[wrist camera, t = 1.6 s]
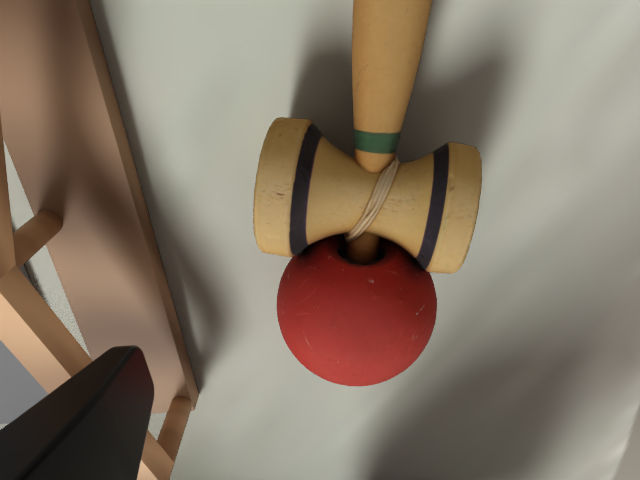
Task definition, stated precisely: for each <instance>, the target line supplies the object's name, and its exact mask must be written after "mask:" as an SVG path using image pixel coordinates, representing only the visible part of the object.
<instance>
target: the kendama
mask: <svg viewBox="0 0 640 480" xmlns="http://www.w3.org/2000/svg"><path fill="white" fill-rule="evenodd" d="M431 5H432V0H354V4H353V29H352V90H353V121H354V136H355V138H354V140H355V146H354V157H352V156H350V155H348V154H346V153H344V152H343V151H341V150H339V149H338V148H337V147H335V146H334V145H333V144H331V143H330V142H329V141H328V140H327V139H326V138H325V137H324V136H323V135H322V134H321V133H320V132H319V130H318V129H317V128H316V126H315V125H314V124H313V122H312V121H311V120H310V119H296V118H284V117H280V118H276V119H275V120H274V121H273V123H272V125H271V126H270V128H269V130H268V132H267V135H266V137H265V140H264V143H263V147H262V150H261V154H260V159H259V164H258V170H257V175H256V183H255V191H254V210H253V216H254V218H253V223H254V234H255V238H256V242H257V245H258V247H259V249H260V250H261V251H262V252H264V253H269V254H275V255H281V256H286V257H292V259H291V260H290V262H289V263H288V265H287V267H286V269H285V271H284V273H283V275H282V278H281V281H280V284H279V289H278V295H277V315H278V322H279V326H280V329H281V332H282V335H283V338H284V340H285V342H286V344H287V346H288V347H289V349H290V350H291V352H292V353H293V354H294V356H295V357H296V358H297V359H298V361H299V362H300V363H301V364H303V365H304V366H305V367H306V368H307V369H308V370H310V371H311V372H313V373H314V374H316V375H318V376H319V377H321V378H323V379H325V380H327V381H330V382H333V383H337V384H341V385H347V386H368V385H374V384H378V383H381V382H384V381H386V380H389V379H391V378H393V377H394V376H396V375H398V374H400V373H401V372H403V371H404V370H406V369H407V368H408V367H409V366H410V365H412V363H413V362H414V361H415V360H416V359H417V358H418V357H419V355H420V354H421V353H422V351H423V350H424V348H425V346H426V345H427V343H428V341H429V339H430V337H431V334H432V331H433V328H434V325H435V320H436V311H437V298H436V292H435V288H434V284H433V280H432V278H431V275H430V273H429V272H435V273H455V272H457V271H458V270H459V269H460V267H461V266H462V264H463V263H464V260H465V258H466V255H467V252H468V249H469V245H470V242H471V240H472V236H473V232H474V228H475V224H476V219H477V214H478V209H479V200H480V194H481V183H482V166H481V165H482V162H481V158H480V153H479V151H478V150H477V148H476V147H473V146H469V145H464V144H459V143H454V142H448V143H446V144H445V145H443V146H441V147H440V148H438V149H437V150H435V151H433V152H432V153H430V154H428V155H426V156H424V157H422V158H420V159H417V160H414V161H410V162H405V163H400V162H399V161H398V158H397V157H396V156H395V150H396V147H397V144H398V140H399V138H400V133H401V129H402V125H403V122H404V118H405V115H406V111H407V107H408V104H409V100H410V97H411V93H412V89H413V85H414V81H415V78H416V74H417V70H418V65H419V61H420V57H421V53H422V48H423V44H424V39H425V35H426V29H427V24H428V19H429V15H430V10H431Z"/></svg>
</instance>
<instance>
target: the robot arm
mask: <svg viewBox="0 0 640 480" xmlns="http://www.w3.org/2000/svg"><path fill="white" fill-rule="evenodd" d="M154 394H155V390H154V383H153V380H152V377H151V374H150V371H149V368H148V365H147V362H146V359H145V356H144V353H143V351H142V349H141V348H140V347H139V346H136V345H129V346H116V347H112V348H110V349H109V350H107V351H106V352H104V353H103V354H102V355H100V356H99V357H98V358H96V359H95V360H94V361H92V362H91V363H90V364H88V365H87V366H86V367H84V368H83V369H82V370H80V371H79V372H78V373H76V374H75V375H74V376H72V377H71V378H70V379H68V380H67V381H66V382H64V383H63V384H62V385H60V386H59V387H57V388H56V389H55V390H53V391H52V392H51V393H49V394H48V395H47V396H45V397H44V398H43V399H41V400H40V401H39V402H37V403H36V404H35V405H33V406H32V407H31V408H29V409H28V410H27V411H25V412H24V413H23V414H21V415H20V416H19V417H17V418H16V419H15V420H13V421H12V422H11V423H9V424H8V425H7V426H5V427H4V428H3V429H1V430H0V480H137V477H138V472H139V467H140V463H141V458H142V453H143V449H144V444H145V439H146V434H147V430H148V425H149V420H150V415H151V411H152V406H153V401H154Z"/></svg>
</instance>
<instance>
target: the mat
mask: <svg viewBox="0 0 640 480" xmlns="http://www.w3.org/2000/svg"><path fill="white" fill-rule="evenodd" d="M19 269H20V271H21V272H22V273H23V274H24V276H25V277H26V278H27V279H28V281H29V282H30V283H31V280H30V278H29V276H28V273H27V271H26V269H25V267H24V264H23V265H22V266H21V267H20V268H19ZM31 284H32V283H31ZM32 286H33V285H32ZM47 395H48V393H47V392H46V391H45V389H44V388H43V387H42V386H41V385H40V384H39V383H38V382H37V380H36V379H35V378H34V377H33V376H32V375H31V374H30V373H29V371H28V370H27V369H26V368H25V367H24V366H23V365H22V364H21V362H20V361H19V360H18V359H17V358H16V357H15V356H14V355H13V353H12V352H11V351H10V350H9V349H8V348H7V347H6V346H5V344H4V343H3V342H2V341H1V340H0V424H5V423H11V422H12V421H13V420H15V419H16V418H17V417H19V416H20V415H21V414H23V413H24V412H25V411H27V410H28V409H29V408H31V407H32V406H33V405H35V404H36V403H37V402H39V401H40V400H41V399H43V398H44V397H45V396H47Z"/></svg>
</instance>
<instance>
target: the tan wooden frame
mask: <svg viewBox="0 0 640 480" xmlns="http://www.w3.org/2000/svg"><path fill="white" fill-rule="evenodd" d="M3 139H4V141H5V144H6V146H7V149H8V151H9V154H10V156H11V159H12V161H13V164H14V166H15V169H16V171H17V174H18V176H19V179H20V181H21V184H22V186H23V189H24V191H25V194H26V196H27V199H28V201H29V204H30V206H31V209H32V211H33V214H34V217H33V218H31V219H30V220H29V221H28V222H26V223H25V224H24V225H22V226H21V227H20V228H19V229H17V230H16V231H15V232H14V233H13V232H12V222H11V212H10V203H9V193H8V183H7V173H6V163H5V153H4V143H3ZM45 244H46V246H47V249H48V251H49V254H50V256H51V259H52V261H53V264H54V266H55V269H56V271H57V274H58V276H59V279H60V281H61V284H62V286H63V289H64V291H65V294H66V296H67V299H68V301H69V304H70V306H71V309H72V311H73V314H74V316H75V319H76V322H77V324H78V327H79V329H80V332H81V334H82V337H83V339H84V342H85V344H86V347H87V349H88V352H89V354H90V357H91V358H90V357H89V356H88V354H87V353H86V352H85V351H84V349H83V348H82V347H81V346H80V344H79V343H78V342H77V341H76V339H75V338H74V337H73V336H72V334H71V333H70V332H69V331H68V329H67V328H66V327H65V326H64V324H63V323H62V322H61V321H60V319H59V318H58V317H57V316H56V314H55V313H54V312H53V311H52V309H51V308H50V307H49V306H48V304H47V303H46V302H45V301H44V299H43V298H42V297H41V296H40V294H39V293H38V292H37V291H36V289H35V288H34V287H33V286H32V284H31V283H30V282H29V281H28V279H27V278H26V277H25V276H24V274H23V273H22V272H21V271H20V269H19V268H20V267H21V266H22V265H23V264H24V263H25V262H27V261H28V260H29V259H30V258H31V257H32V256H33V255H34V254H35V253H36V252H37V251H39V250H40V249H41V248H42V247H43V246H44V245H45ZM0 340H1V341H2V342H3V343H4V344H5V346H6V347H7V348H8V349H9V350H10V351H11V352H12V353H13V355H14V356H15V357H16V358H17V359H18V360H19V361H20V362H21V364H22V365H23V366H24V367H25V368H26V369H27V370H28V371H29V373H30V374H31V375H32V376H33V377H34V378H35V379H36V380H37V382H38V383H39V384H40V385H41V386H42V387H43V388H44V389H45V391H46V392H47V393H48V394H49V393H51V392H52V391H53V390H55V389H56V388H57V387H59V386H60V385H62V384H63V383H64V382H66V381H67V380H68V379H70V378H71V377H72V376H74V375H75V374H76V373H78V372H79V371H80V370H82V369H83V368H84V367H86V366H87V365H88V364H90V363H91V362H92V361H94V360H95V359H96V358H98V357H99V356H100V355H102V354H103V353H104V352H106V351H107V350H109V349H110V348H112V347H116V346H129V345H136V346H139V347H140V348H141V349H142V351H143V353H144V356H145V359H146V362H147V365H148V368H149V371H150V374H151V377H152V380H153V383H154V390H155V394H154V401H153V406H152V411H151V413H162V412H167V415H166V418H165V420H164V423H163V426H162V429H161V431H160V434H159V437H158V440H157V441H156V440H155V438H154V437H153V436H152V435H151V433H150V432H149V431H148V430H147V434H146V439H145V444H144V449H143V453H142V458H141V463H140V467H139V472H138V477H137V480H169V478H170V475H171V472H172V469H173V466H174V462H175V459H176V456H177V453H178V449H179V446H180V443H181V440H182V437H183V433H184V430H185V427H186V424H187V421H188V417H189V414H190V411H194V410H195V406H196V403H197V400H198V396H199V394H198V390H197V387H196V383H195V379H194V376H193V372H192V369H191V365H190V361H189V358H188V354H187V351H186V347H185V343H184V340H183V336H182V333H181V329H180V325H179V322H178V318H177V315H176V311H175V308H174V304H173V300H172V297H171V293H170V290H169V286H168V282H167V279H166V275H165V272H164V268H163V264H162V261H161V257H160V254H159V250H158V246H157V243H156V239H155V236H154V232H153V229H152V225H151V221H150V218H149V214H148V211H147V207H146V203H145V200H144V196H143V193H142V189H141V185H140V182H139V178H138V175H137V171H136V167H135V164H134V160H133V157H132V153H131V149H130V146H129V142H128V139H127V135H126V132H125V128H124V124H123V121H122V117H121V114H120V110H119V106H118V103H117V99H116V96H115V92H114V88H113V85H112V81H111V78H110V74H109V70H108V67H107V63H106V60H105V56H104V53H103V49H102V45H101V42H100V38H99V35H98V31H97V27H96V24H95V20H94V17H93V13H92V9H91V6H90V2H89V0H0Z"/></svg>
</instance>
